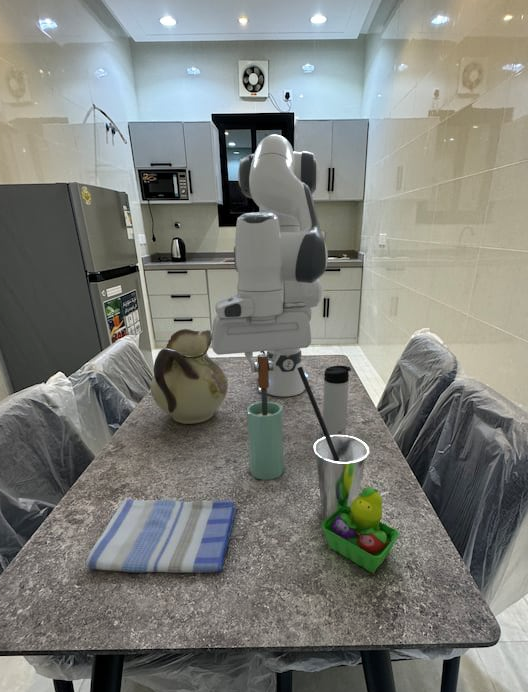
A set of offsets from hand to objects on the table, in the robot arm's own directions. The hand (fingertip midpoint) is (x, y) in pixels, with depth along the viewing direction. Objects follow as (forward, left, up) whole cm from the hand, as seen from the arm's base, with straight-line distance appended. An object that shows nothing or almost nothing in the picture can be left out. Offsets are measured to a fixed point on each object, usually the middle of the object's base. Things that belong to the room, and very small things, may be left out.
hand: (263, 370), depth 81 cm
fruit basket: (+28, +11, -25) cm, 39 cm away
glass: (+19, +10, -25) cm, 33 cm away
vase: (0, 0, -25) cm, 25 cm away
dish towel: (+17, -22, -25) cm, 37 cm away
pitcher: (-34, -16, -25) cm, 45 cm away
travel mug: (-11, +21, -25) cm, 34 cm away
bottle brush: (0, 0, -18) cm, 18 cm away
